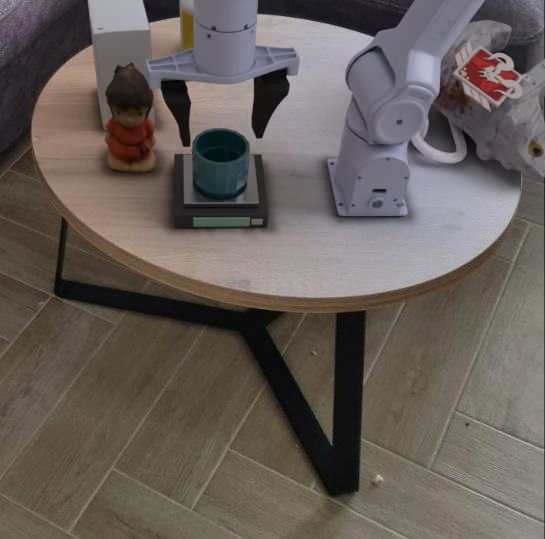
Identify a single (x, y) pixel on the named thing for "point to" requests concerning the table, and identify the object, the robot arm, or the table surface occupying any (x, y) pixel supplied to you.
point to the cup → (220, 160)
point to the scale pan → (202, 198)
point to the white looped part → (439, 155)
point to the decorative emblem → (487, 76)
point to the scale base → (219, 215)
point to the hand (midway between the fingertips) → (221, 136)
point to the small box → (118, 43)
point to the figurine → (130, 122)
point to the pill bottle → (186, 25)
